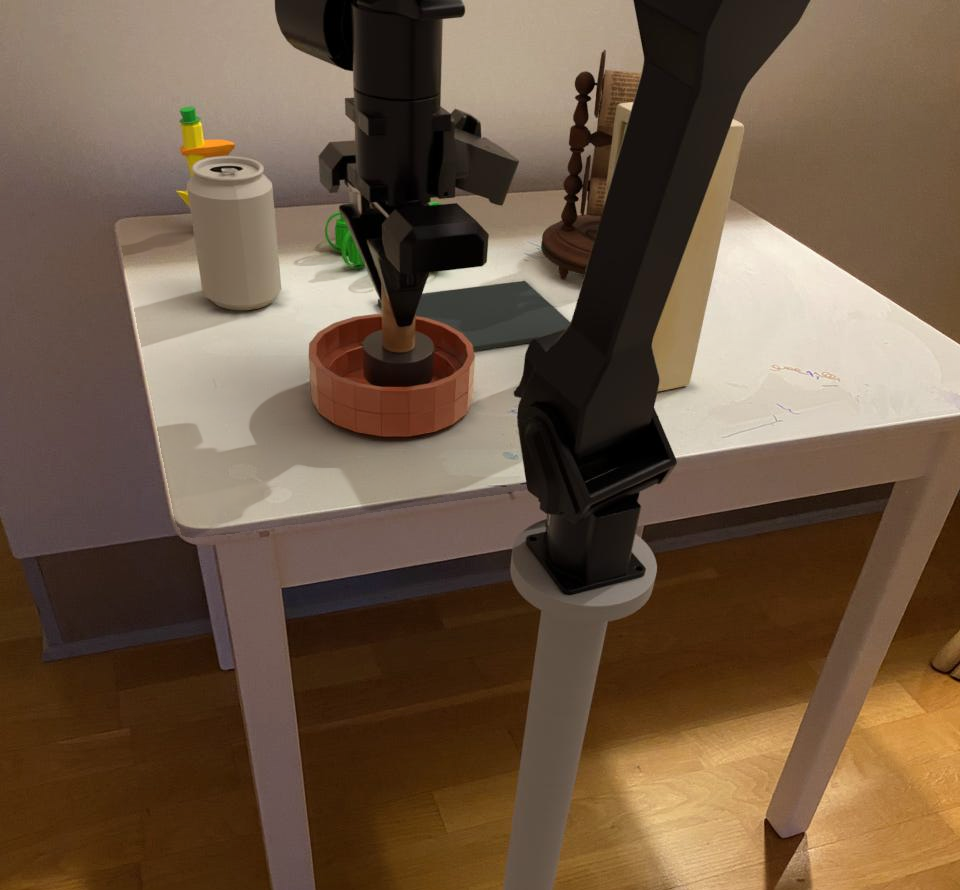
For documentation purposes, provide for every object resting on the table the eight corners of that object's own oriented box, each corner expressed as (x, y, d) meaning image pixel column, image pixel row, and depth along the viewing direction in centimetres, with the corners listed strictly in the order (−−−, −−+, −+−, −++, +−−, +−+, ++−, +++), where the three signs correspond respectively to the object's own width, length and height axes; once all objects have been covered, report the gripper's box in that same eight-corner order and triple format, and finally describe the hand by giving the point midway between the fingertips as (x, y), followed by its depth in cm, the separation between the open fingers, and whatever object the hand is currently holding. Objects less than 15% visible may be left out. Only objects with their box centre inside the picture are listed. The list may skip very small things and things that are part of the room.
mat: (579, 335, 89) (580, 330, 89) (422, 359, 84) (422, 354, 83) (524, 285, 97) (525, 280, 96) (377, 303, 91) (377, 298, 91)
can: (273, 278, 94) (261, 149, 86) (290, 309, 89) (278, 175, 81) (197, 285, 92) (177, 153, 84) (210, 318, 87) (190, 181, 79)
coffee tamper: (443, 386, 74) (448, 268, 68) (376, 396, 73) (374, 277, 66) (419, 352, 78) (421, 237, 71) (354, 361, 76) (350, 244, 70)
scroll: (671, 247, 107) (711, 43, 93) (679, 300, 96) (725, 79, 82) (543, 234, 107) (563, 30, 94) (536, 287, 97) (558, 64, 83)
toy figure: (239, 220, 105) (225, 100, 97) (247, 232, 103) (234, 110, 95) (178, 227, 103) (158, 104, 94) (185, 238, 100) (166, 114, 92)
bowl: (496, 426, 76) (501, 375, 73) (340, 454, 72) (337, 401, 69) (436, 353, 85) (437, 305, 82) (293, 375, 80) (289, 324, 77)
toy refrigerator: (573, 359, 85) (608, 101, 71) (641, 347, 88) (688, 96, 74) (619, 400, 80) (666, 132, 66) (689, 386, 83) (750, 125, 68)
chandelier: (331, 225, 105) (328, 159, 101) (464, 231, 106) (467, 166, 102) (320, 280, 95) (316, 209, 90) (468, 286, 96) (471, 216, 91)
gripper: (572, 123, 58) (545, 358, 69) (455, 50, 70) (448, 260, 81) (402, 134, 54) (402, 380, 65) (310, 55, 66) (323, 274, 77)
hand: (397, 317), depth 72 cm, fingers closed on coffee tamper, 2 cm apart
